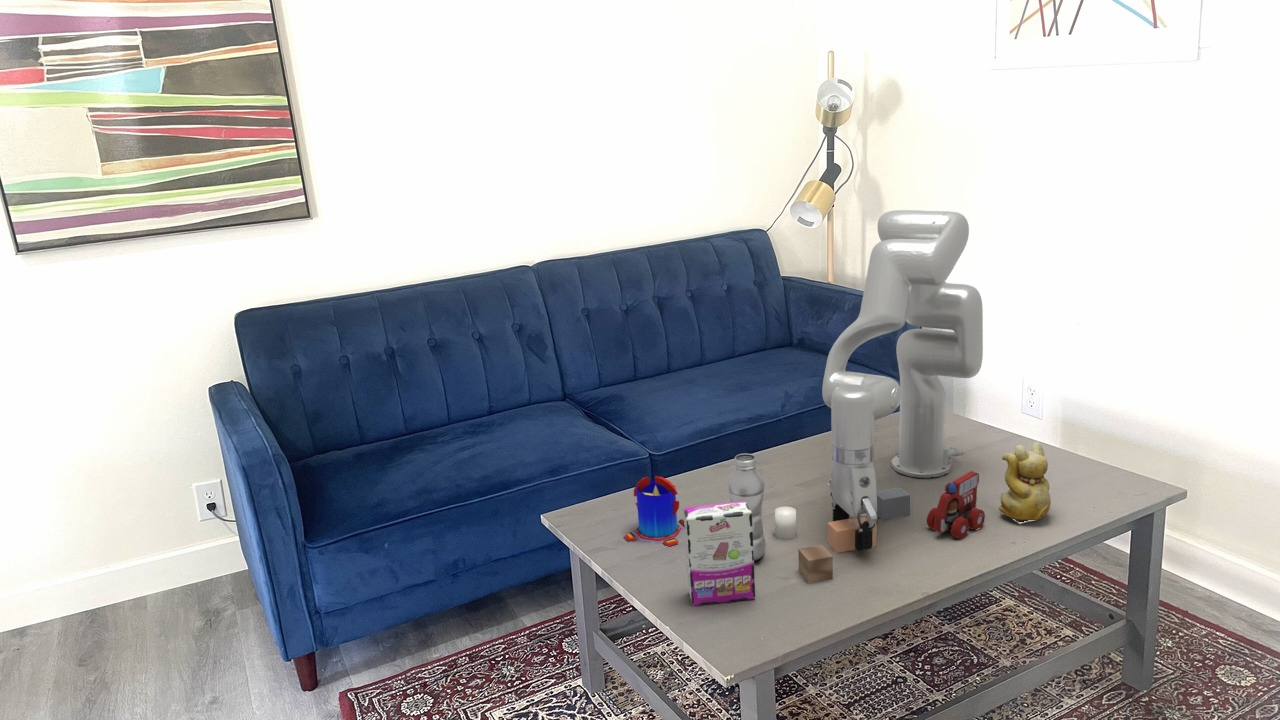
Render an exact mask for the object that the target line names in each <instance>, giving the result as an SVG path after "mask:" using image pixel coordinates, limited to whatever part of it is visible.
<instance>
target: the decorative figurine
mask: <svg viewBox="0 0 1280 720" xmlns="http://www.w3.org/2000/svg"><path fill="white" fill-rule="evenodd" d="M1001 460H1003V461H1006V463H1007V468H1006V471H1005V475H1004V480H1005V484H1006V486H1007V487H1008V488H1009V489H1008V491H1004V492H1003V493H1002V494H1001V495H1000V504H1001V505H1000V506H998V510H999V511H1000V512H1001V513H1002V514H1004V515H1005V516H1007V517H1009V518H1010V517H1011V518H1010V519H1012V518H1013V519H1015V520H1016V521H1018V522H1024V521H1028V520H1038V521H1041V518H1044V517H1046V516H1047V514H1048V513H1049V511H1050V508H1051V503H1052V502H1051V494H1050V492H1049V491H1050V483H1049V481H1048V479H1047V478H1046V477H1045V474H1046V473H1047V471H1048V468H1049V462H1048V460H1047V457H1045V449H1044V448H1043V446H1042V443H1040V442H1039V441H1034V442H1033V443H1032V445H1031V449H1030V450H1028V449H1026V447H1025V446H1023V445H1022V444H1016V445H1015V449H1014V453H1013V452H1006V453H1004V454H1003V455H1002V456H1001Z"/></svg>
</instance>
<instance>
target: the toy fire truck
mask: <svg viewBox="0 0 1280 720" xmlns="http://www.w3.org/2000/svg"><path fill="white" fill-rule="evenodd" d="M979 483H980V474H979V473H978V472H975V471H969V472H967V473H965V474H964V475H962V476H960V477H958V478H956V479H954V480H953V481H952V482H948V483H946V485H945V486H944V491H945V492H943V493H942V494H941V495H940V497H939V500H938V503H937V506H936V507H933V508H931V509H930V511H929V512H928V514H927V516H926V526H927V527H928V528H930V529H931V530H934V532H938V533H939V534H944V533H945V532H947V531H950V533H951V535H952V537H954V538H956V539H958V540H960V539H961V538H962V539H963V538H965V536H966V535H967V534H968V531H969V529H971V530H973V529H974V531H977V530H976V529H978V528H980V527H981V528H982V526H983V525H984V523H985V518H986V513H985V511H984V510H983V509H980V508H979V507H978V508H977V498H978V497H977V496H978V495H977V494H978V485H979ZM981 528H980V529H981ZM978 530H979V529H978ZM962 539H961V540H962Z"/></svg>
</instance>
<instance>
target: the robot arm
mask: <svg viewBox="0 0 1280 720" xmlns="http://www.w3.org/2000/svg"><path fill="white" fill-rule="evenodd" d="M968 222H969V221H968V220H967V218H966V216H965V215H964V214H962V213H960V212H957V211H947V210H945V211H944V210H943V211H942V210H918V209H917V210H915V209H914V210H913V209H910V210H909V209H902V210H901V209H899V210H889V211H886V212H883V214H881V215H880V216H879V219H878V221H877V226H876V227H877V234H878V237H879V239H880V241H879V242H877V243H876V244H875V245H874V246H873V248H872V249H871V253H870V257H869V261H868V267H867V273H866V277H865V284H864V289H863V294H862V300H861V304H860V305H861V306H860V311H859V314H858V316H857V318H856V319H855V320H854V321H853V322H852V323H851V324H850V325H849V326H847V328H846V329H844V331H843V332H842V333H841V334H840V335H839V336H838V338H837V339H836V340H835V341H834V343H833V345H832V347H831V349H830V350H829V352H828V356H827V359H826V362H825V363H826V364H825V369H824V375H823V380H822V389H821V390H822V391H821V392H822V400H823V401H824V404H826V406H827V407H829V408H830V409H831V411H830V414H831V462H832V464H831V465H832V466H831V479H830V480H829V487H830V496H831V499H832V501H831V507H832V522H833V521H838V520H844V519H850V517H851V518H854V519H855V523H856V526H857V530H855V549H856V551H857V552H861V551H864V550H870V549H872V548H873V546H872V536H873V530H874V527H875V524H876V522H877V520H878V516H877V515H876V513H877V491H878V490H877V479H876V472H875V466H874V464H873V463H874V455H875V454H874V449H875V448H874V447H875V445H874V444H875V443H874V442H875V435H874V434H875V428H874V427H875V421H877V420H879V419H882V418H886V417H888V416H890V415H891V414H893V413H894V412H895V411H896V410H897V409H898V408H899V430H898V433H899V434H898V435H899V436H898V437H899V439H898V440H899V441H898V454H897V455H895V456H894V457H893V458H892V459H891V468H892V469H893V470H894V471H896V472H897V473H898V474H900V475H903V476H907V477H911V478H919V479H930V478H931V477H933V478H937V477H938V476H939V477H942V476H944V474H945V475H947V474H948V473H950V471H951V468H952V467H951V466H952V464H951V461H950V459H952V457H953V458H954V457H956V458H957V457H959V456H960V457H961V456H963V455H964V454H965V451H964V448H963V447H962V446H959V447H958V446H957V447H952V445H951V444H948V445H945V430H946V429H945V427H946V426H945V423H946V402H947V399H946V398H947V397H946V395H947V394H946V390H945V386H944V385H943V383H942V381H941V379H940V378H939V376H940V377H949V378H957V379H972V378H974V377H976V375H978V374H979V372H980V371H981V368H982V363H983V357H984V353H983V352H984V349H983V348H984V346H983V345H984V342H983V341H984V339H983V338H984V337H983V336H984V335H983V334H984V332H983V331H984V326H983V323H984V321H983V320H984V319H983V318H984V316H983V311H984V309H983V301H982V300H983V298H982V296H981V294H980V291H979V290H978V289H977V288H976V287H975V286H973V285H969V284H963V283H962V284H961V283H949V282H946V281H947V279H948V278H949V277H950V275H951V274H952V271H953V270H954V268H955V266H956V264H957V262H958V261H959V259H960V257H962V254H963V252H964V250H965V248H966V245H967V244H968V241H969V233H970V225H969V223H968ZM906 323H907V324H909V325H911V326H913V327H914V326H915V327H918V328H913V329H908V330H906V331H904V332H903V333H902V334H901V335H899V337H898V340H897V342H896V346H895V347H896V351H895V352H896V359H897V365H898V370H899V371H898V372H899V382H898V381H897V380H896V379H894V378H892V377H888V376H885V375H877V374H869V373H863V372H858V371H857V372H854V371H849V370H848V371H847V370H846V369H847V368H846V367H847V364H848V362H849V361H848V360H849V359H850V357H851V355H852V353H853V352H855V350H856V349H857V348H859V346H861V345H863V344H864V343H866V342H868V341H869V340H872V339H875V338H877V337H881V336H883V335H886V334H889V333H892V332H895V331H898V330H901V329H902V328H903V327H904V326H905V324H906ZM919 327H921V328H919ZM946 330H947V331H946ZM948 330H949V331H948ZM947 472H948V473H947ZM946 473H947V474H946ZM861 511H863V513H860V512H861ZM863 517H866V521H864V522H863V523H862V524H861V521H860V518H863ZM876 525H877V524H876Z"/></svg>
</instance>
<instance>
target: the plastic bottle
mask: <svg viewBox="0 0 1280 720" xmlns="http://www.w3.org/2000/svg"><path fill="white" fill-rule="evenodd" d="M756 458H757V457H756V456H755V455H754V454H752V453H740V454H737V455H736V456H734V469H735V470H734V471H733V474H731V476H730V478H729V480H728V483H727V485H728V486H727V487H728V494H729V500H730V503H732V502H741V501H746V502H747V505H748V507H749V508H750V510H751V512H752V530H753V554H754V562H755V561H758V560H760V559H761V558H762V557H763V556H764V554H765V552H766V547H767V543H766V537H765V534H764V527H763V526H764V525H763V519H762V518H763V515H762V514H763V500H764V494H765V486H766V485H765V481H764V479H763V477H762V475H761V474H760V473H759V472H758V471H757V470H756V468H757V463H756V462H757V461H756V460H757V459H756Z"/></svg>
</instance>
